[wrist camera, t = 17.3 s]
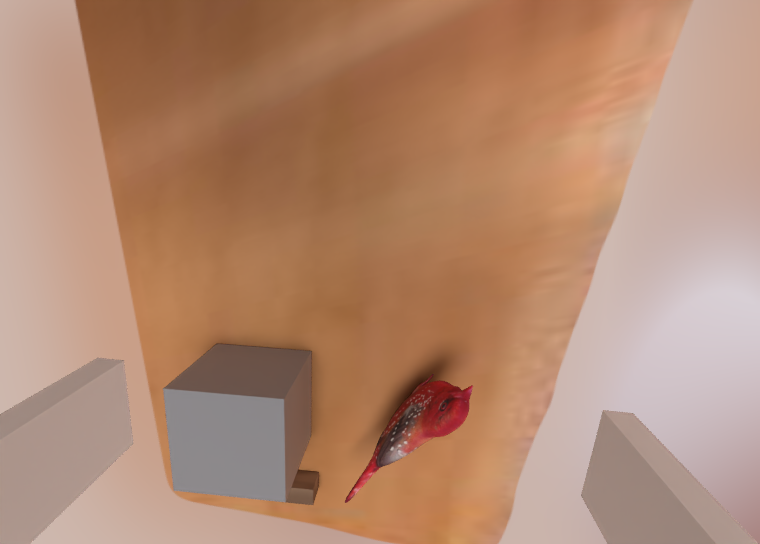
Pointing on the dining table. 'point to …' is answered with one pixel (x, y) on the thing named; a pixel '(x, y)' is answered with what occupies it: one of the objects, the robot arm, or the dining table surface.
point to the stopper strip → (304, 488)
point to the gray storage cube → (240, 421)
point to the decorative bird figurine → (418, 424)
